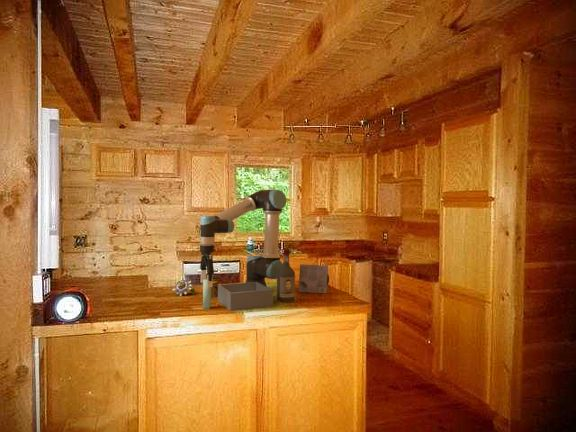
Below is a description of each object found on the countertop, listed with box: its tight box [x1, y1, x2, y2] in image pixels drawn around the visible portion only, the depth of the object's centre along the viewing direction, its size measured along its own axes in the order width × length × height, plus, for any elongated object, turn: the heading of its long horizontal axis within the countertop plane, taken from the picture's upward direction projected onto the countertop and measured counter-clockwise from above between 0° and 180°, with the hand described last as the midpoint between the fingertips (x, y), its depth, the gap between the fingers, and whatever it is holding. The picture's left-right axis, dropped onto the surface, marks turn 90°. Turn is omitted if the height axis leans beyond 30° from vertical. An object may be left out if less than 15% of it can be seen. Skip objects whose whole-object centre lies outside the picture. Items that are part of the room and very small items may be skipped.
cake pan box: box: [298, 263, 330, 294], centre depth 252 cm, size 19×5×18 cm, turn 84°
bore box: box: [217, 282, 274, 312], centre depth 221 cm, size 24×24×9 cm
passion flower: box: [171, 277, 196, 297], centre depth 240 cm, size 11×11×12 cm
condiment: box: [211, 275, 219, 299], centre depth 236 cm, size 7×8×12 cm
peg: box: [202, 278, 212, 310], centre depth 210 cm, size 4×4×15 cm
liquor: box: [276, 248, 296, 303], centre depth 228 cm, size 9×9×30 cm
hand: (206, 284), depth 209 cm, fingers open, 13 cm apart
